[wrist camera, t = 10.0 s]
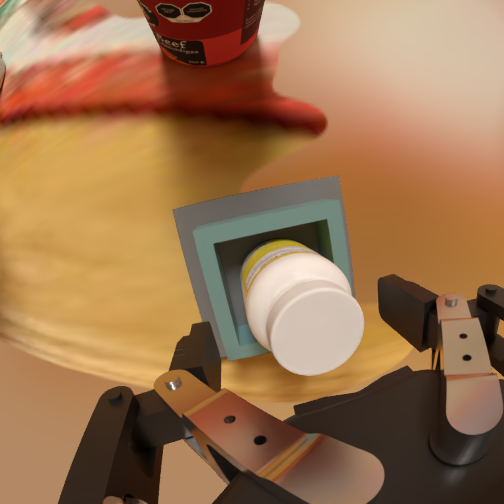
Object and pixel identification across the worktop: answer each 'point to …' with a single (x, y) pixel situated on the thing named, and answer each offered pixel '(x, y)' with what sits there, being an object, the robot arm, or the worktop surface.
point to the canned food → (203, 28)
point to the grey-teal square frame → (246, 237)
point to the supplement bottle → (300, 306)
